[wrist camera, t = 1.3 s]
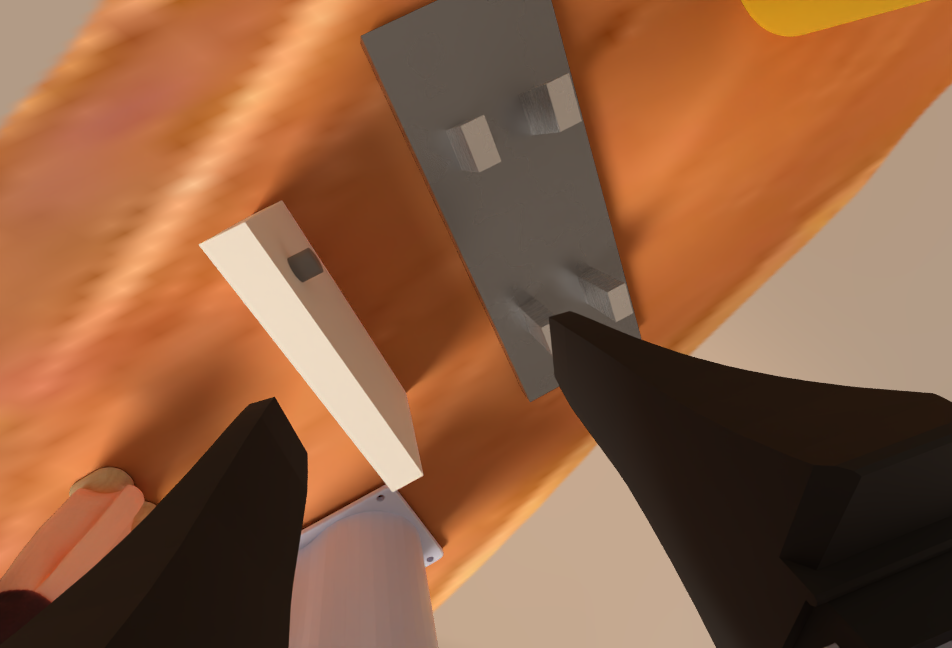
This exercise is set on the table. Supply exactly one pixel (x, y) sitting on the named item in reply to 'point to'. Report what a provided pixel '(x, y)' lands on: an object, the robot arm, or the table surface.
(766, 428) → the robot arm
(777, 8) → the tape roll
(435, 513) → the table surface
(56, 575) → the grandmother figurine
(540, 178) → the rail
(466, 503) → the table surface
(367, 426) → the cabinet door
